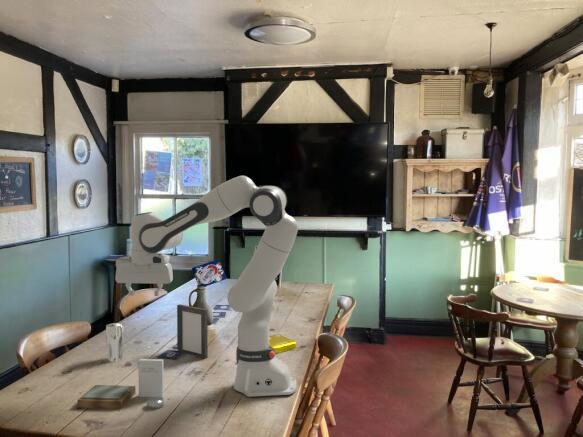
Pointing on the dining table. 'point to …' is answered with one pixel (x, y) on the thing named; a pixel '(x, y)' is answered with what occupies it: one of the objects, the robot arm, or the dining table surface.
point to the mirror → (106, 397)
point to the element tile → (281, 343)
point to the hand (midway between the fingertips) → (144, 295)
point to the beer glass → (115, 341)
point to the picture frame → (192, 331)
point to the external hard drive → (151, 378)
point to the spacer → (155, 403)
